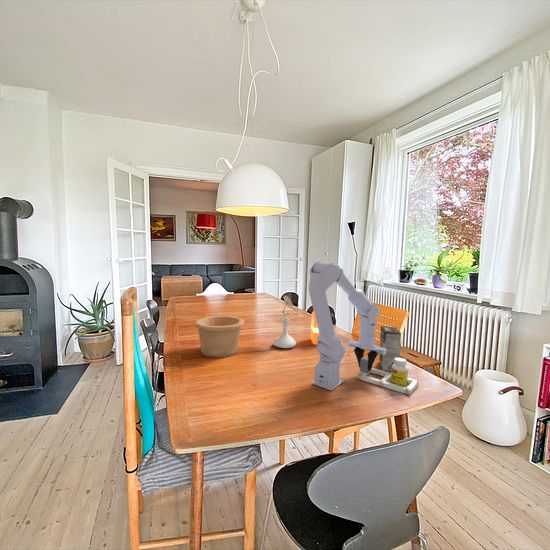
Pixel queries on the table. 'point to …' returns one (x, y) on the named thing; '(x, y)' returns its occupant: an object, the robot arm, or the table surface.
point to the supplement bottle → (399, 372)
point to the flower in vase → (285, 330)
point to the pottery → (219, 335)
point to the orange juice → (314, 329)
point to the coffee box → (389, 346)
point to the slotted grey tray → (384, 381)
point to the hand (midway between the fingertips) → (365, 368)
